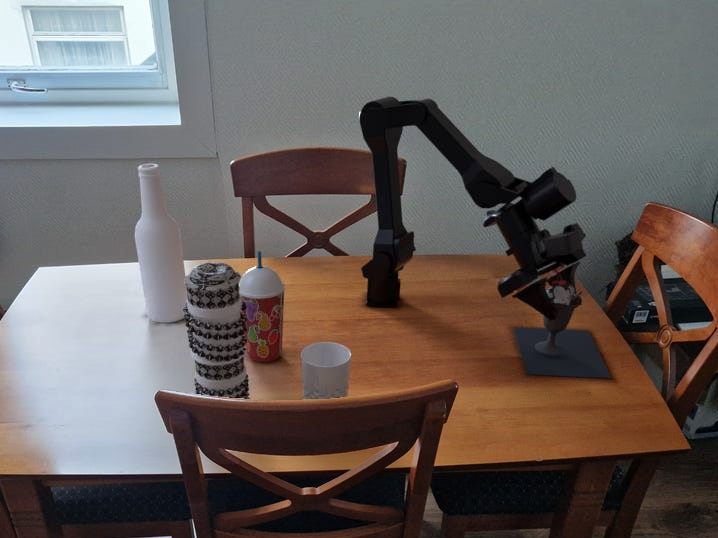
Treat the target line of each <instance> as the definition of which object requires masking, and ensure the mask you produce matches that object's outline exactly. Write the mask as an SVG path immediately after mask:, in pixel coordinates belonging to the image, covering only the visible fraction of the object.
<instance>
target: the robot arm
mask: <svg viewBox="0 0 718 538" xmlns="http://www.w3.org/2000/svg"><path fill="white" fill-rule="evenodd" d="M358 121H359V125H360V130H361V134H362V138H363V140H364V141H365V144H366V145H367V147H368V149H369V151H370V152H371V159H372V160H371V162H372V170H373V183H374V193H375V204H376V206H375V207H376V216H377V226H378V227H377V232H376V235H375V237H374V241H373V245H372V259H370V260H369V261H368V262H367V263H365V264H364V265H363V266H362V267H360V270H361V274H362V276H363V279H367V286H366V287H367V289H366V297H365V306H366V307H377V308H379V307H380V308H397V306H398V302H400V297H401V295H400V294H401V284H402V283H401V278H400V277H399V272H401V271H402V270H404V268H405V266H406V265H407V264H409V263H410V261H412V259H413V256H414V252H416V251H417V249H416V246H415V231H413V230H412V231H408V230H407V228H406V226H405V225H404V222H403V210H402V198H401V196H402V195H401V182H400V165H399V155H398V148H399V143H400V141H401V137H402V134H403V130H404V127H413V126H414V127H416V128H417V129H418V130H419V131H420V132H421V133H422V134H423V135H424V136H425V138H426V139H427V140H428V141H429V142H430V143H431V145H433V146H434V147H435V149H436V150H438V151H439V153H440V154H441V155H442V156H443V157H444V158H445V159H446V160H447V162H449V164H450V165H451V166H452V168H454V169H455V170H456V171H457V172H458V174H459V175H460V177H461V179H462V183H463V187H464V189H465V191H466V192H467V193H468V196H469V197H470V198H471V200H472V202H473V203H474V205H475V206H477V207H479V208H480V209H490V210H488V211H486V215H485V219H484V221H483V224H482V226H483V227H484V228H488V227H492V226H495V225H496V226H497V228H498V230H499V232H500V234H501V235H502V237H503V239H504V241H505V243H506V245H507V246H508V249H506V250H505V254H506V256H507V257H510V256H513V258H514V259H515V262H516V263H517V265H518V267H519V269H516V270H514V272H512V273H510V274H509V275H507V276H506V277H503V278H502V279H500V280H499V281H497V282H498V283H497V287H496V289H497V291H498V294H499V296H500V297H501V299H503V298H505V297H507V296H509V295H511V297H512V298H513V299H518V300H519V301H521V302H523V303H525V304H526V305H528V306H529V307H531V308H532V309H534V310H535V311H536V312H538V313H540V314H541V315H544V316H545V317H547V318H548V319H550V320H554V319H556V318H557V315H556V313H555V310H554V308H553V305H552V303H551V301H550V299H549V296H548V294H547V292H546V291H547V289H546V285H547V284H548V285H549V287H551V286H553V285H552V282H553V281H556V279H557V276H558V280H557V281H561V277H562V280H564V281H566V283H569V284H570V285H571V286H572V287H573V288H574V294H576V295H578V292H577V288H576V281H575V280H576V279H575V275H576V271H577V269H578V266H580V265H581V260H582V259H584V258H585V257H587V254H586V252H585V250H584V248H583V247H584V246H583V242H584V241H583V240H584V239H585V238H587V237H586V236H587V235H586V233H585V232H584V231H583V228H582V227H581V226H580V225H579V223H577V222H576V223H570V224H568V225H565V226H564V227H563V230H562V232H559V233H556V234H551V233H550V231H549V230H548V229H547V228H544V229H540V227H539V225H538V224H537V222H536V220H540V221H546V220H548V219H550V218H551V217H553V216H554V215H556V214H557V213H559V212H561V211H562V210H564V209H565V208H567V207H568V206H570V205H571V204H573V203H575V202H576V201H577V192H576V188H575V187H574V184H573V183H572V181H571V180H570V179H569V178H567V177H566V176H565V175H564V174H562V173H561V172H559V171H557V169H556V167H555V166H551V167H550V168H548V169H547V170H545V171H544V172H542V173H541V174H540V176H539V177H538V178H535V180H533V181H528V180H526V179H523V178H520V177H516V176H514V174H513V172H512V171H511V170H509V169H508V168H506V167H505V166H504V165H502V164H501V163H500V162H499V161H497V160H495V159H493V158H491V157H489V156H486V155H485V154H483V153H482V152H481V151H479V149H478V148H476V146H475V145H474V144H473V143H472V142H471V141H470V140H469V138H467V136H465V134H463V132H462V131H461V130H460V129H459V128H458V127H457V126H456V125H455V124H454V123H453V121H452V120H451V119H449V117H448V116H447V115H446V114H445V113H444V112H443V111H442V110H441V109H440V108H439V106H438V103H437V101H435V100H433V99H431V98H424V99H420V100H419V99H416V100H415V99H411V100H410V99H407V100H399V99H398V98H396V97H394V96H384V97H381V98H378V99H374V100H371V101H368V102H366V103H365V104H363V106H362V108H361V110H359V115H358ZM518 198H521V199H519V200H518V201H517V202H515V203H513V202H514V201H515V200H517V199H518ZM498 205H502V206H501V207H500V208H498V209H497V210H495V209H493V208H496V207H497V206H498ZM554 269H556V270H558V272H559V273H560V275H561V277H560V275H559V273H558V272H557V271H556V272H557V273H558V275H557V273H556V272H555V271H554ZM546 274H548V275H549V276H550V277H549V278H548V277H547V276H545V277H543V278H541V276H544V275H546ZM515 291H516V293H514V292H515ZM513 293H514V294H513ZM512 294H513V295H512ZM577 308H579V306H576V308H575V309H577Z"/></svg>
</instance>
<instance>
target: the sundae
mask: <svg viewBox="0 0 718 538" xmlns="http://www.w3.org/2000/svg"><path fill="white" fill-rule="evenodd" d="M554 271H555V272H556V271H557V272H558V270H556V269H554ZM557 272H556V273H557ZM558 273H559V272H558ZM558 273H557V275H558ZM559 275H560V273H559ZM560 277H561V275H560ZM557 280H558V276H557V279H556V281H553V282H552V285H553V286H549V287H548V288H547V289H546V292H547V294H548V296H549V299H550V301H551V303H552V305H553V308H554V310H555V313H556V315H557V318H556V319H554V320H550V319H548V318H547V317H545V316H544V315H543V314H542V315H543V316H542V317H543V319H542V321H543V326H544V328H546V329H547V330H548V331H549V337H548V339H547V341H546V342H539V343H537V344H536V345H535V348H536V350H537V351H539V352H540V353H543V354H546V355H559V354H561V353H563V351H564V350H563V348H562V347H561V346H560V345H559V344H556V343H555V337H556V334H557V333H558V332H561V331H563V330H564V329H567V327H568V325H569V323H570V322H571V319H572V316H573V314H574V311H575V310H576V309H577V308H576V306H578V307H579V306H582V305H583V304H582V303H583V300H582V299H583V298H582V297H581V294H582V293H583V291H582V290H581V291H580V292H578V293H577V295H576V294H574V288H573V287H572V286H571V285H570V284H569V283H566V281H564V280H562V277H561V281H557Z"/></svg>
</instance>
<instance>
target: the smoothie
mask: <svg viewBox="0 0 718 538" xmlns="http://www.w3.org/2000/svg"><path fill="white" fill-rule="evenodd" d="M256 252H257V253H256V255H257V265H255V266H252V267H250V268H249V269H247V270H246V271H245V272H244V273H243V275H242V276H241V280H240V282H239V287H240V291H239V293H240V295H241V299H242V301H243V302H245V303H246V306H247V309H246V310H244V311H242V307H241V309H240V312H241V313H243V314H245V316H246V318H247V321H246V322H245V325H246V328H247V331H246V332H245V334H244V336H246V339H247V343H246V344H245V346H246V348H247V351H246V354H248V358H250V360H252V361H254V362H258V363H269V362H272V361H275V360H276V359H278V358H279V357H280V354H281V352H282V350H283V331H284V307H285V306H284V305H285V289H286V288H285V287H286V284H285V283H284V282H283V281H282V279H281V277H280V275H279V274H278V273H277V271H275V270H274V269H273V268H271V267H269V266H265V265H263V264H262V251H260V250H259V251H256Z"/></svg>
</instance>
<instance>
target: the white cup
mask: <svg viewBox="0 0 718 538" xmlns="http://www.w3.org/2000/svg"><path fill="white" fill-rule="evenodd" d="M351 364H352V351H351V350H350V348H348V347H347V346H346V345H343V344H341V343H338V342H333V341H332V342H331V341H319V342H314V343H310V344H309V345H306V346H305V347H304V348H303V349H302V350H301V351H300V365H301V382H302V391H303V400H304V399H330V398H340V397H347V398H348V395H349V388H350V387H349V386H350V379H351V377H350V376H351V368H352V367H351Z"/></svg>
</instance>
